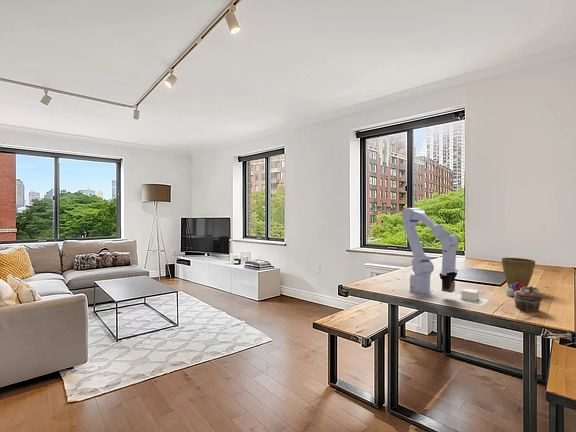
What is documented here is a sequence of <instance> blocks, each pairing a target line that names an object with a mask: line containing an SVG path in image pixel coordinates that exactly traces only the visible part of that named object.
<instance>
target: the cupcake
mask: <svg viewBox="0 0 576 432" xmlns="http://www.w3.org/2000/svg"><path fill="white" fill-rule="evenodd" d="M516 294H517V295H515V296H513V300H514V304H515V305H514V306H515V308H516V309H518V310H519V311H523V312H527V313H538V312H539V310H540V308H541V307H540V306H541V303H542V301H543V300H542V297H543V296H542V294H541V293H540V291H539V289H538V288H537V287H534V286H527V287H526V286H524V287H523V288H521V289H520V290H519V291H517V292H516Z"/></svg>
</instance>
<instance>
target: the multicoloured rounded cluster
mask: <svg viewBox="0 0 576 432" xmlns="http://www.w3.org/2000/svg"><path fill="white" fill-rule="evenodd" d="M524 286H526V285H525V284H520V283H519V282H516V283H515V284H511V285H510V288H508V289H507V290H506V292H505V293H506V296H508V297H512V298H514V296H515V295H517V294H516V292H517V291H519V290H520V289H521V288H523V287H524Z"/></svg>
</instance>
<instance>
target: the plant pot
mask: <svg viewBox="0 0 576 432" xmlns="http://www.w3.org/2000/svg"><path fill="white" fill-rule="evenodd" d="M501 263H502V269H503V274H504V277H505V281H506V283H507V286H508V289H510V285H511V284H515V283H516V282H519V283H520V284H525V285H526V287H529V284H530V282H531V279H532V276H533V273H534V270H535V265H536V260H534V259H528V258H521V257H501Z"/></svg>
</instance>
